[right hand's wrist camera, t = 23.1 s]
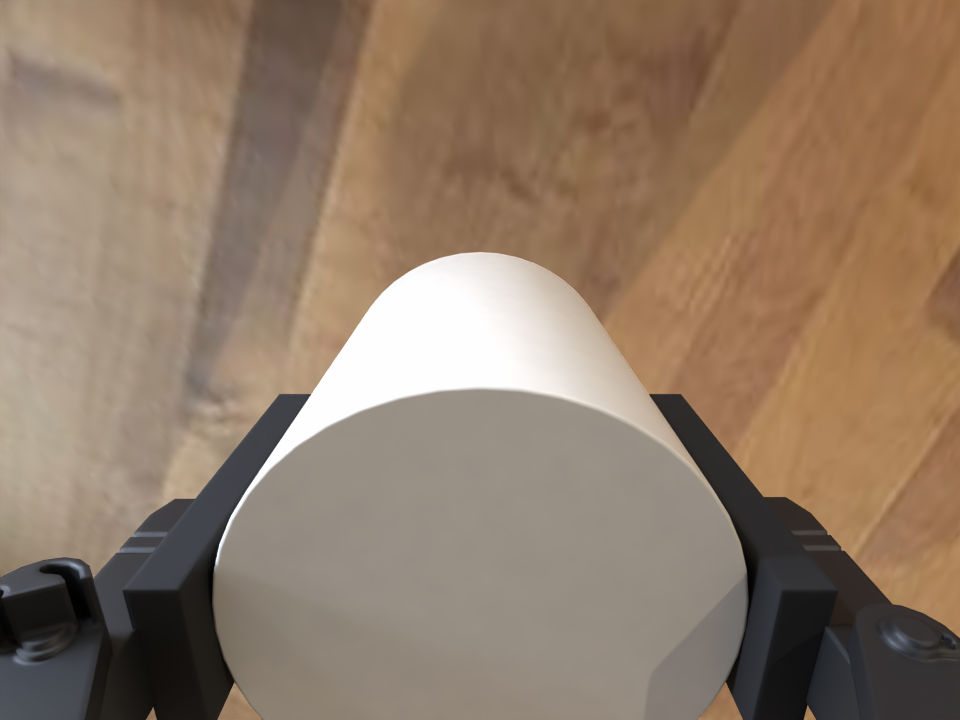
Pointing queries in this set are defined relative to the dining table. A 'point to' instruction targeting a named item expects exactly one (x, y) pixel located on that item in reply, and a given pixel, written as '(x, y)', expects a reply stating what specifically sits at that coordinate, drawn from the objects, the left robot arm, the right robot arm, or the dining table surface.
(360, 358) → the cylinder
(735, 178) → the dining table surface
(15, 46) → the dining table surface
